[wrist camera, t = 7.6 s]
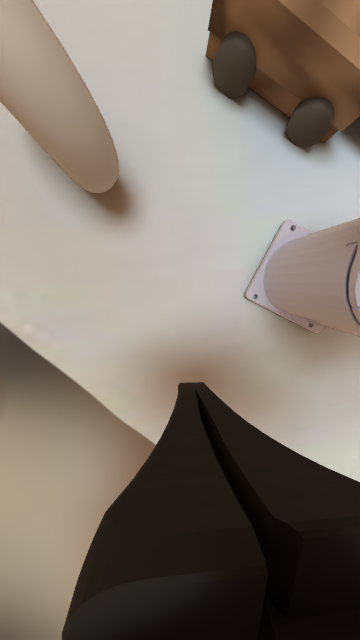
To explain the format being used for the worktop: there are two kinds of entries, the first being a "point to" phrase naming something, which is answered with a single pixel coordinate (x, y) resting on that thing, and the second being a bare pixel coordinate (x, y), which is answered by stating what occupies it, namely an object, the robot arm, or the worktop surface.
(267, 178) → the worktop surface
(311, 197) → the worktop surface
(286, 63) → the box
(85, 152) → the donut
